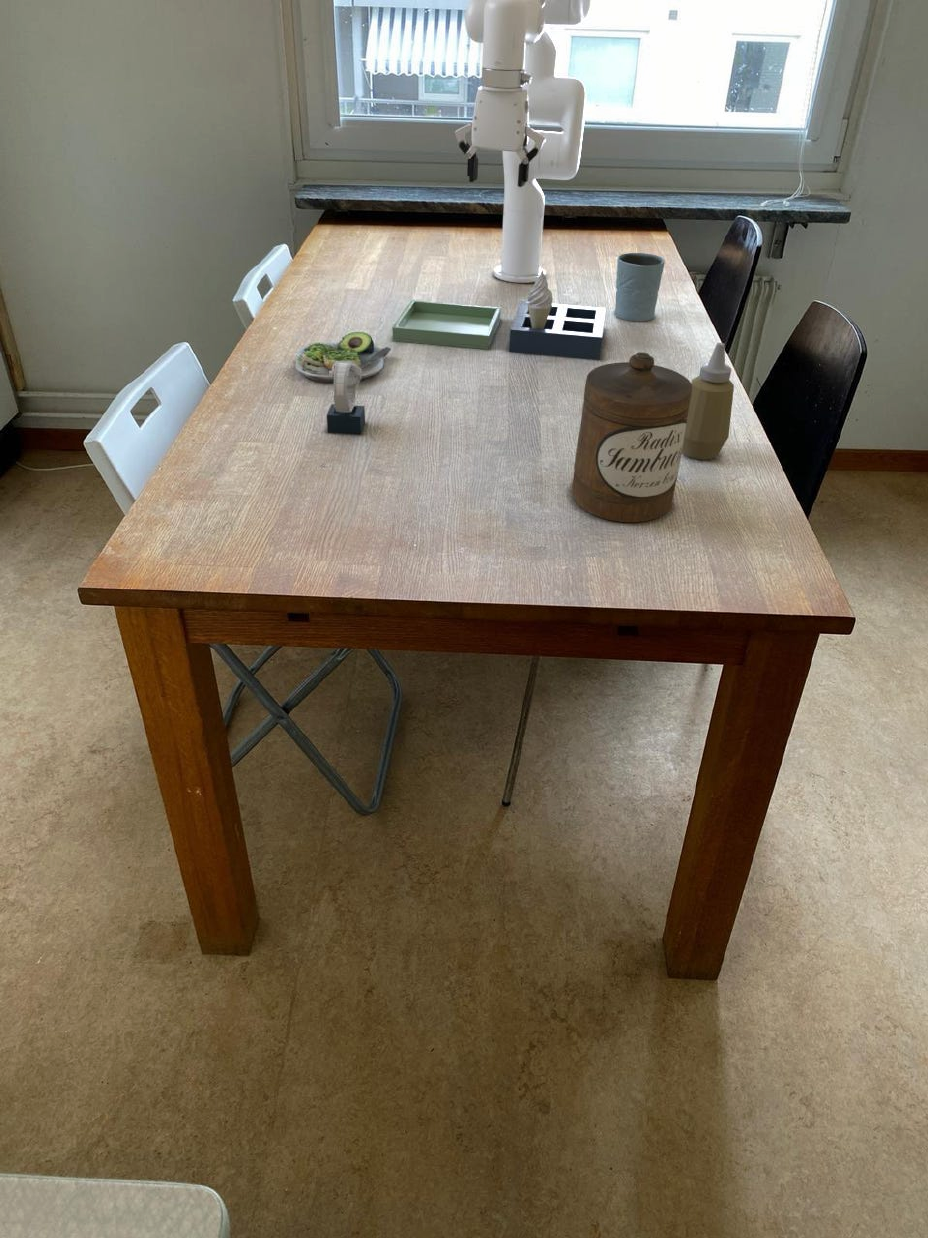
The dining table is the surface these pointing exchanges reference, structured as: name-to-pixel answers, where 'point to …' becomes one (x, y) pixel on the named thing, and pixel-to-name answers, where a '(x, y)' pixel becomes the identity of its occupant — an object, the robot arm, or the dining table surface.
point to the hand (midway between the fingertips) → (497, 183)
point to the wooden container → (630, 439)
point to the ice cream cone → (540, 302)
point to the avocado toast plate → (340, 357)
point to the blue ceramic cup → (637, 285)
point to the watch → (345, 400)
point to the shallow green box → (447, 324)
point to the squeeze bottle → (709, 408)
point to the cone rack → (560, 332)
